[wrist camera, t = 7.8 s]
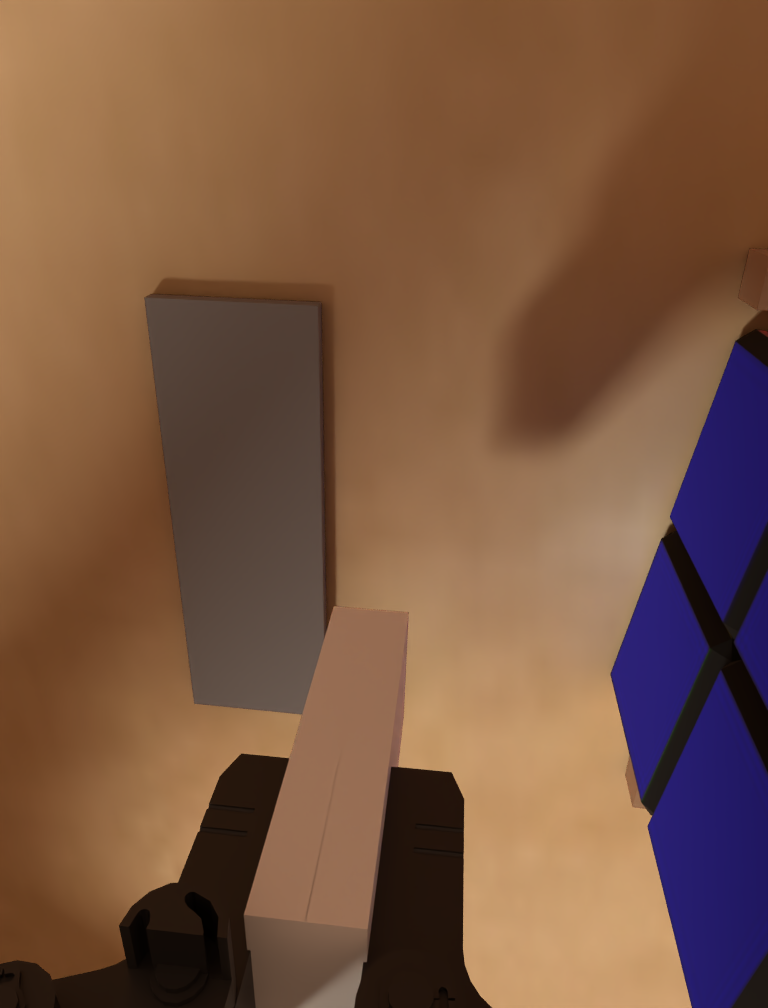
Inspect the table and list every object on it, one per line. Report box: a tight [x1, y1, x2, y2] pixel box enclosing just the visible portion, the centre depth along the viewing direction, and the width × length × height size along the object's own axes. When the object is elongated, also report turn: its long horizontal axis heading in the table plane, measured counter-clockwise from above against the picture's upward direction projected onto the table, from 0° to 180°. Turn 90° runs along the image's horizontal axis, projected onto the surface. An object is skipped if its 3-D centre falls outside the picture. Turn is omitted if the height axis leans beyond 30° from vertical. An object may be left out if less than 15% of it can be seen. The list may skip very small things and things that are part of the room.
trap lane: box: [145, 249, 768, 809], centre depth 18 cm, size 27×15×1 cm, turn 89°
